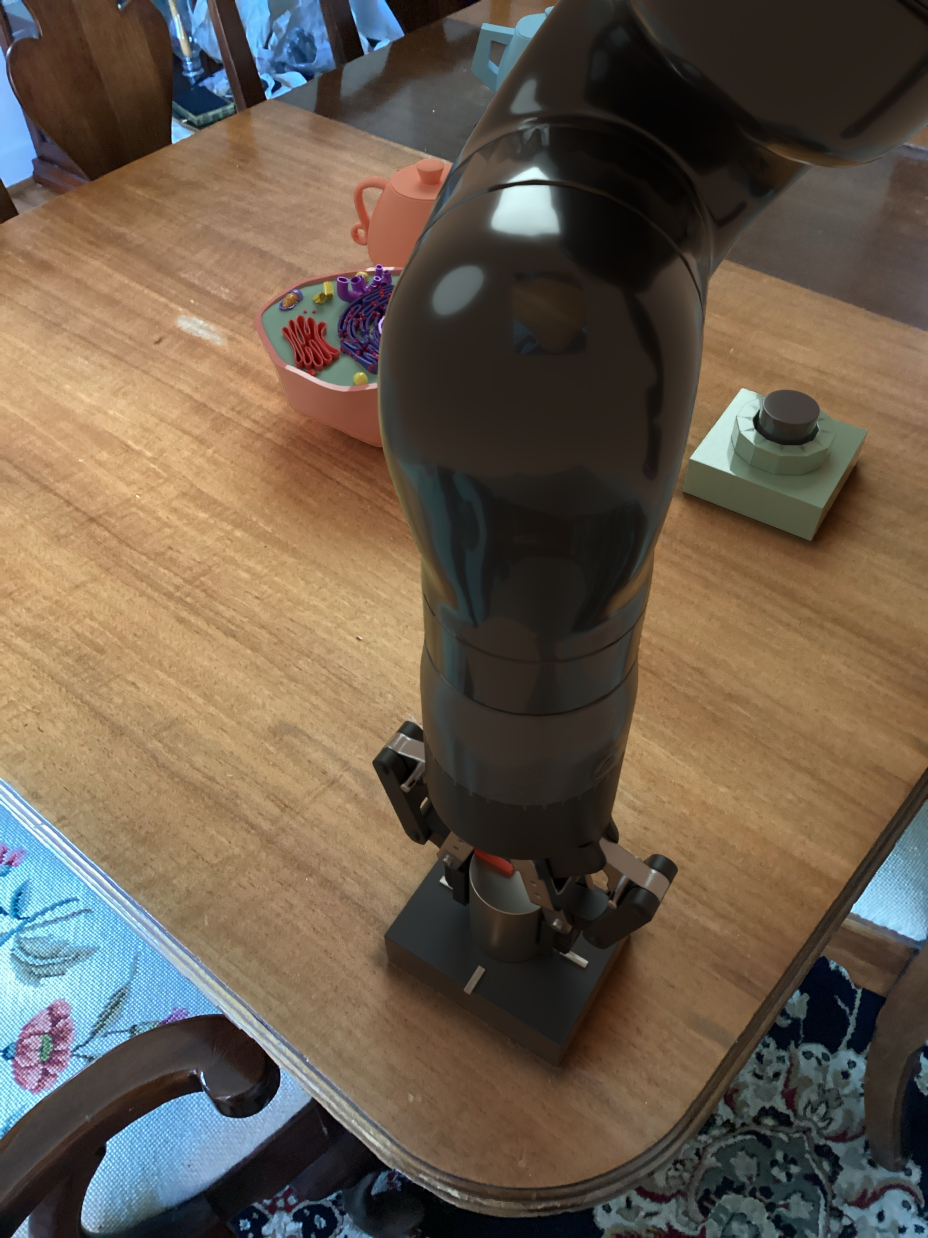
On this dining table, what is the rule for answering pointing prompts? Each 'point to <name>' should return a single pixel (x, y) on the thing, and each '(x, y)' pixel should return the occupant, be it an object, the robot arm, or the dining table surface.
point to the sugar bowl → (398, 210)
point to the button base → (773, 468)
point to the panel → (497, 971)
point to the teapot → (514, 49)
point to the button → (788, 417)
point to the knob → (502, 910)
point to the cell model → (331, 346)
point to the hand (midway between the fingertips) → (511, 912)
